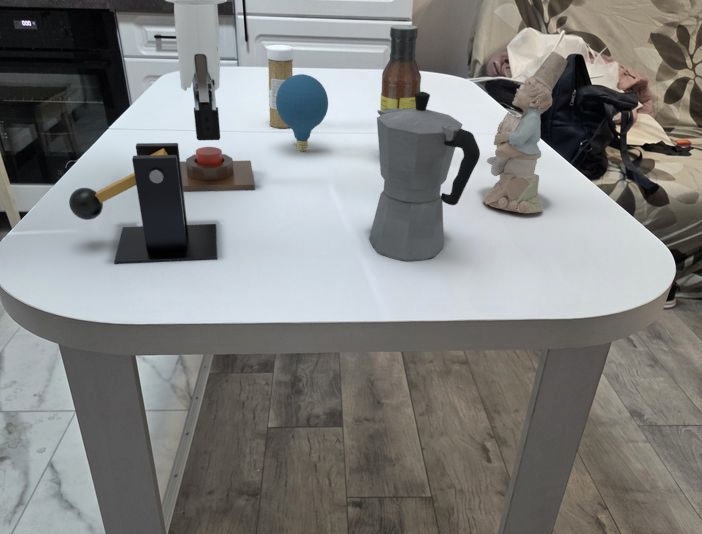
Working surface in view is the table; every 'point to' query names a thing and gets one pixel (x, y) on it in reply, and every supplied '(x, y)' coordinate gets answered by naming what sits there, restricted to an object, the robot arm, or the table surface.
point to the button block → (217, 175)
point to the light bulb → (302, 106)
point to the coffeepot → (417, 178)
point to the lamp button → (209, 156)
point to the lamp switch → (163, 213)
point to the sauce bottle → (401, 70)
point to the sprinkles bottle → (278, 77)
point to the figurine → (523, 142)
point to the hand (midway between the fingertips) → (208, 138)
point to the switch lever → (100, 195)
